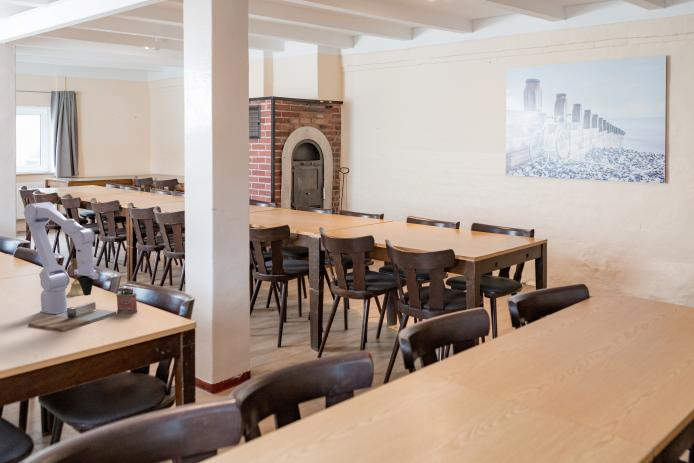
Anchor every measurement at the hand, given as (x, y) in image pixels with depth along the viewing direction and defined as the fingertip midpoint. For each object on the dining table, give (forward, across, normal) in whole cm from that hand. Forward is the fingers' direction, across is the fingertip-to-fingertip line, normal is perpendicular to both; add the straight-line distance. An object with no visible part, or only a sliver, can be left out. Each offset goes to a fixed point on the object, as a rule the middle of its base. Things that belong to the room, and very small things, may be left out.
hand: (87, 294), depth 267 cm
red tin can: (+9, -6, -13) cm, 17 cm away
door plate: (+8, +1, +1) cm, 9 cm away
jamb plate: (+8, -2, +13) cm, 16 cm away
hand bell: (+9, +39, -17) cm, 44 cm away
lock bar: (+7, +1, +3) cm, 7 cm away
